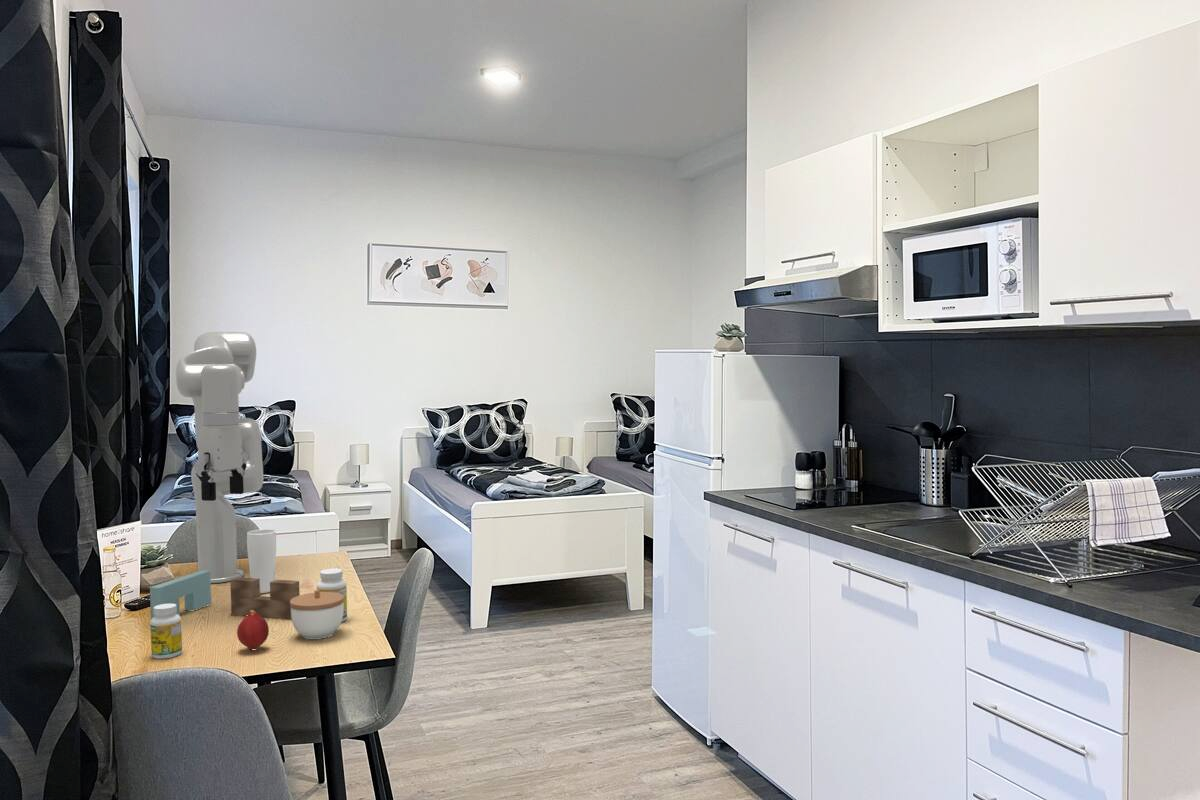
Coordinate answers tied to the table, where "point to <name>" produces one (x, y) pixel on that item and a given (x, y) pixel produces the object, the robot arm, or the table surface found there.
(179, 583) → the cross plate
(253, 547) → the drinking glass
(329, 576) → the pill bottle
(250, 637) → the onion
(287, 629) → the table surface
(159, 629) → the supplement bottle
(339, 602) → the lidded jar
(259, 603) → the slotted stand
